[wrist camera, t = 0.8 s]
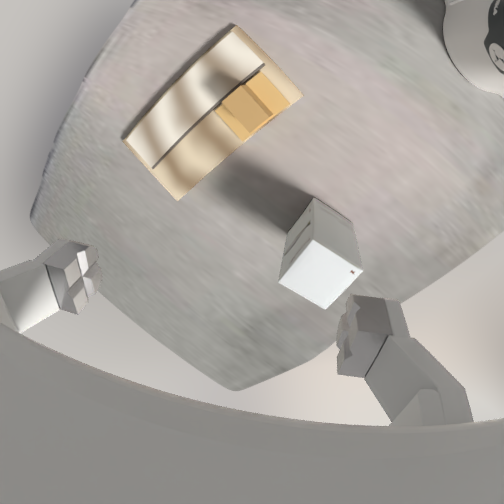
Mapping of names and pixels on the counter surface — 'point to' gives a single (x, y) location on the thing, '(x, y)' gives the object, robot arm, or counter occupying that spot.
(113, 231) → the counter surface
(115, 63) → the counter surface
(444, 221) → the counter surface
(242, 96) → the stepped wooden block
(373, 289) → the counter surface
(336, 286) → the supplement box
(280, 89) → the board
